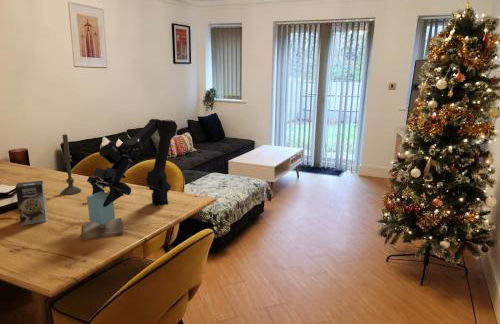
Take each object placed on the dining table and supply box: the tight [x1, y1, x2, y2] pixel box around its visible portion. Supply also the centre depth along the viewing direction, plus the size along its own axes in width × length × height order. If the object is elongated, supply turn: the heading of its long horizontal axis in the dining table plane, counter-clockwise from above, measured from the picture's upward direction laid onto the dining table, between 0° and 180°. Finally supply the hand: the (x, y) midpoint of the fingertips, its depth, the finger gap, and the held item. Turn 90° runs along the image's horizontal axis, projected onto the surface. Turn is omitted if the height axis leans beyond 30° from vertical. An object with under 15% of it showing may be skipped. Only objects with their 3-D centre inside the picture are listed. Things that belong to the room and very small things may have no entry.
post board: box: [81, 217, 124, 241], centre depth 136 cm, size 14×14×5 cm
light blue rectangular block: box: [86, 191, 116, 224], centre depth 134 cm, size 6×6×10 cm
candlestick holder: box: [61, 134, 82, 196], centre depth 174 cm, size 9×9×30 cm
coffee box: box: [15, 180, 48, 226], centre depth 141 cm, size 9×6×16 cm
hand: (97, 204), depth 133 cm, fingers closed on light blue rectangular block, 6 cm apart
